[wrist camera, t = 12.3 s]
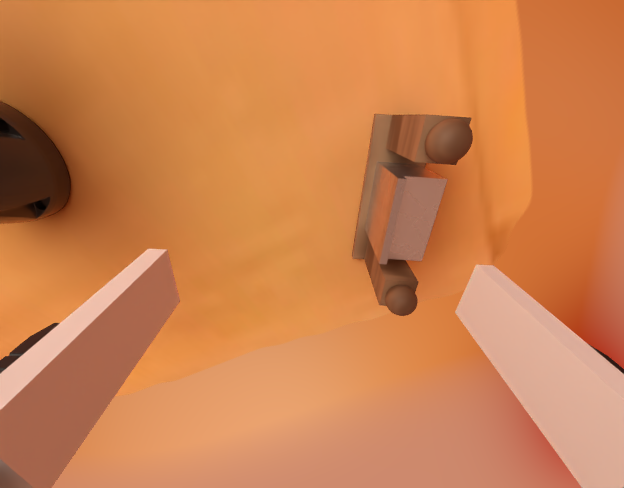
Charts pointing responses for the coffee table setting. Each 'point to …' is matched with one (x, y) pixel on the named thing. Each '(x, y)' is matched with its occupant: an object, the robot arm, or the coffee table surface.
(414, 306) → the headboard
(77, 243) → the coffee table surface
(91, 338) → the robot arm
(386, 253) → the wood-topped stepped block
